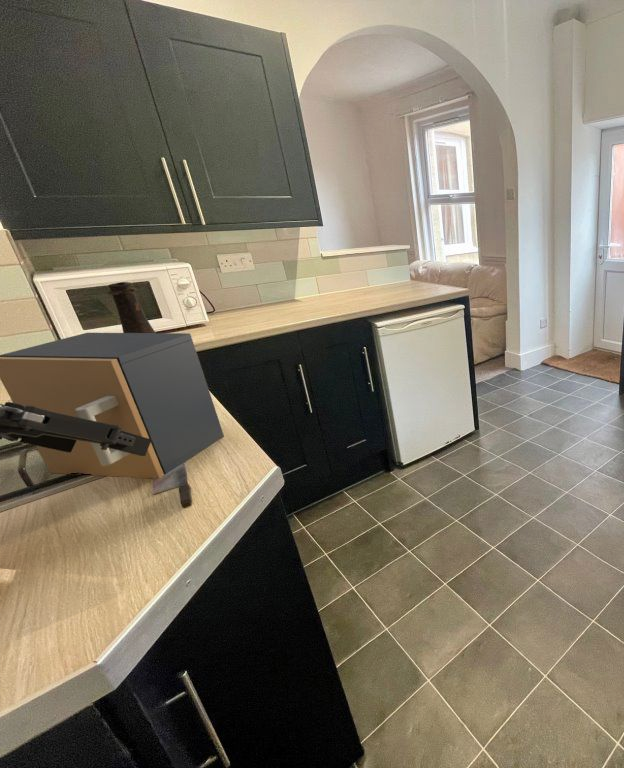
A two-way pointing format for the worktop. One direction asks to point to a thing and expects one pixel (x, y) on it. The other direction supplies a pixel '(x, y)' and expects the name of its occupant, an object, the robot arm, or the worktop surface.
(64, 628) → the worktop surface
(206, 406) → the cupboard
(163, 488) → the cleaver
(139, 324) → the dark brown vase
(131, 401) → the cupboard door
